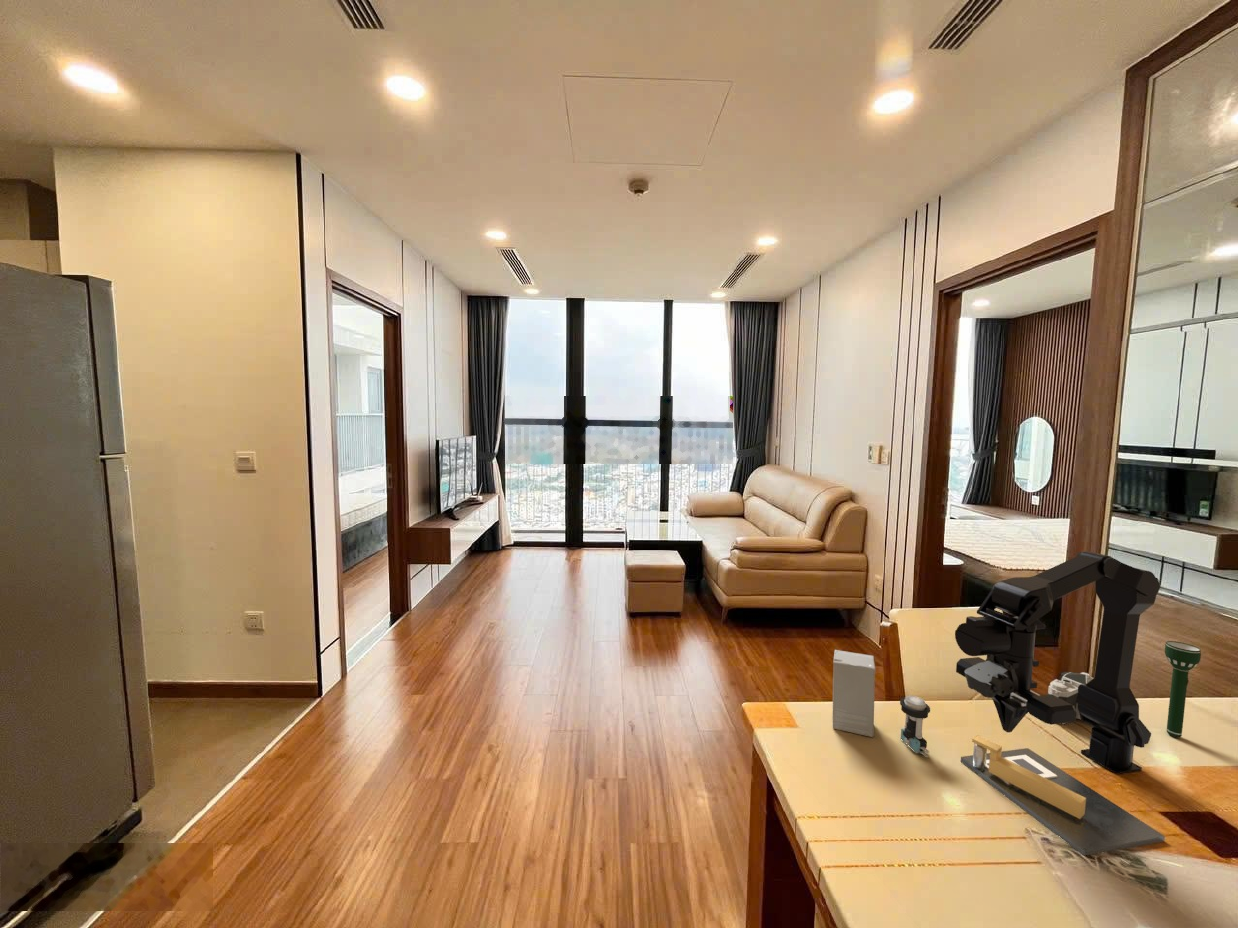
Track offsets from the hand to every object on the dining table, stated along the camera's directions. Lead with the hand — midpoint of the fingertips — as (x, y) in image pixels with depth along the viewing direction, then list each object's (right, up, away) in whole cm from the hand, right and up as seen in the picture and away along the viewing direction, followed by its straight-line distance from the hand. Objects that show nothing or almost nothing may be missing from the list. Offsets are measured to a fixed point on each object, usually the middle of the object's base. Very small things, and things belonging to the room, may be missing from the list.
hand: (1007, 731), depth 93 cm
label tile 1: (+6, -8, +2) cm, 10 cm away
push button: (-12, -8, +9) cm, 17 cm away
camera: (+33, -8, +21) cm, 40 cm away
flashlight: (+48, -9, +14) cm, 51 cm away
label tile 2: (0, -8, +1) cm, 8 cm away
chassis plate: (+4, -9, -5) cm, 11 cm away
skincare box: (-22, -8, +16) cm, 28 cm away
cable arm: (0, -8, -4) cm, 9 cm away
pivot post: (-4, -9, +2) cm, 10 cm away
